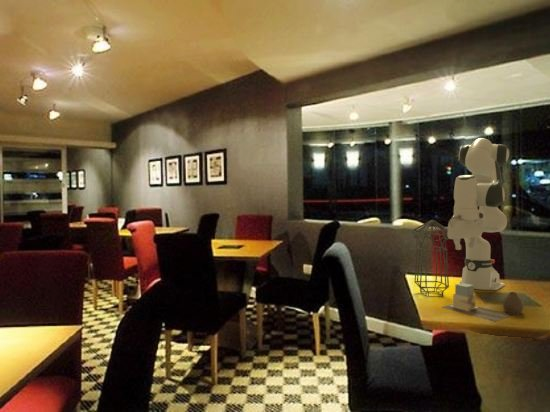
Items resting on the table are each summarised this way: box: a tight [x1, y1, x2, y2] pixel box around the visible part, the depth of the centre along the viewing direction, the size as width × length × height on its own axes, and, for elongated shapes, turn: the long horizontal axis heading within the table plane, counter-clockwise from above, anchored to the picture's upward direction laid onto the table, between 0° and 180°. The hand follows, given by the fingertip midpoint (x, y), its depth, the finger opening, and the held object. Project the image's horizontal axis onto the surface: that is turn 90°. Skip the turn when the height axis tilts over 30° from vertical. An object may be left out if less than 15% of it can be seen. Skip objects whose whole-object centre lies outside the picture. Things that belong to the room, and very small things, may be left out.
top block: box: [454, 282, 475, 297], centre depth 169 cm, size 5×5×4 cm
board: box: [441, 303, 514, 323], centre depth 164 cm, size 13×22×1 cm, turn 34°
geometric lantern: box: [411, 219, 450, 298], centre depth 192 cm, size 16×16×35 cm
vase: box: [502, 291, 524, 315], centre depth 162 cm, size 7×7×9 cm
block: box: [452, 293, 476, 309], centre depth 169 cm, size 6×6×5 cm
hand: (465, 248), depth 168 cm, fingers open, 8 cm apart
